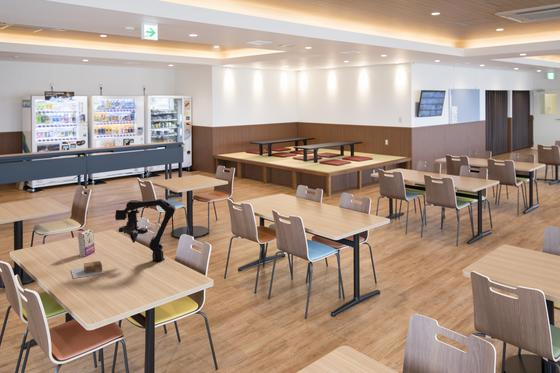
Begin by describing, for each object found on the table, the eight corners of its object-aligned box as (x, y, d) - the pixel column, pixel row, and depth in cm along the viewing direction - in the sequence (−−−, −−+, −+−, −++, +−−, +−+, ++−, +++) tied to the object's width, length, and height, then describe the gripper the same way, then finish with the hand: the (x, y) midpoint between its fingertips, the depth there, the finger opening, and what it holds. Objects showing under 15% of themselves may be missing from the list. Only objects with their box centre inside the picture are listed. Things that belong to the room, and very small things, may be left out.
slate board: (97, 266, 313) (97, 265, 313) (101, 273, 299) (101, 273, 299) (71, 270, 305) (70, 269, 305) (73, 278, 292) (73, 278, 291)
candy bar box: (88, 251, 343) (86, 229, 340) (95, 251, 342) (93, 229, 339) (79, 256, 332) (77, 233, 329) (85, 257, 331) (83, 233, 328)
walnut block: (100, 260, 309) (83, 263, 304) (101, 263, 302) (84, 266, 298) (100, 267, 309) (84, 270, 305) (102, 270, 303) (85, 273, 299)
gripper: (112, 221, 311) (114, 245, 314) (137, 223, 306) (139, 247, 309) (122, 217, 322) (124, 240, 325) (147, 219, 316) (148, 242, 319)
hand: (133, 242), depth 319 cm, fingers closed
